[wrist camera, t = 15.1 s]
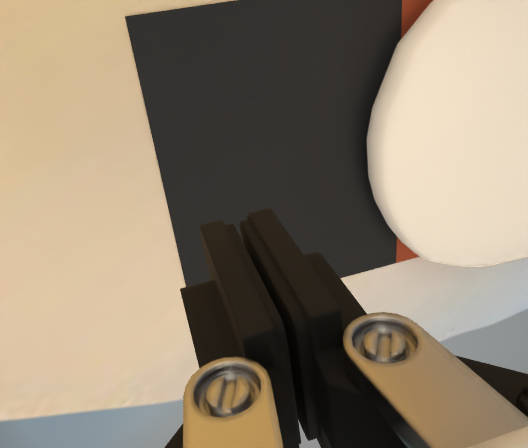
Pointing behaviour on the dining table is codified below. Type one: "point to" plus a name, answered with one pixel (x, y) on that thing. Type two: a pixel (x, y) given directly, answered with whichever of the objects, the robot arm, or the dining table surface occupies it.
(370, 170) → the plate
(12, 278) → the dining table surface
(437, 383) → the robot arm
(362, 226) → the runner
